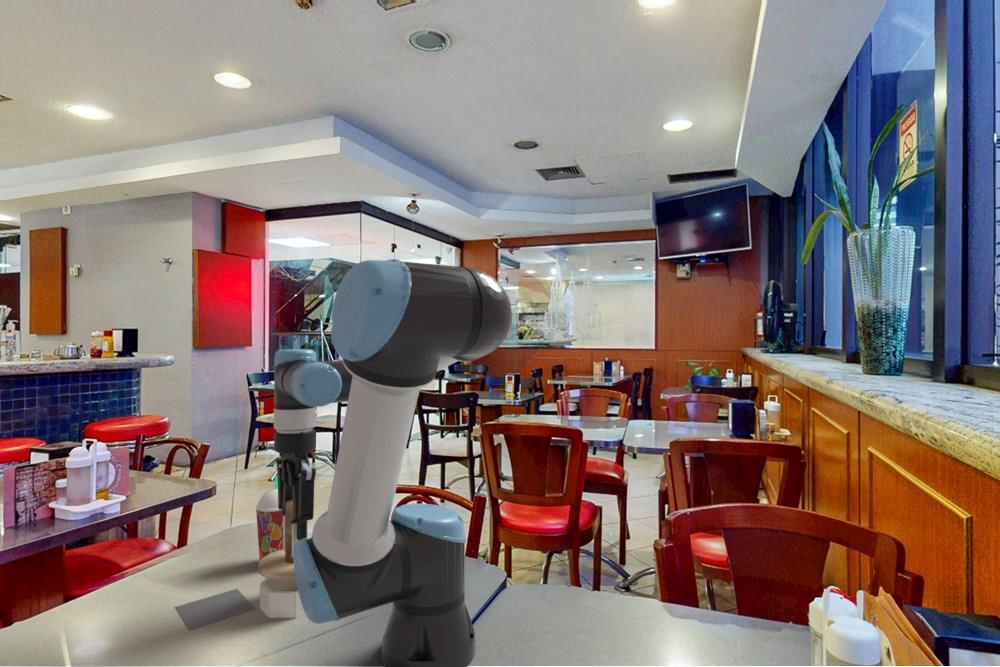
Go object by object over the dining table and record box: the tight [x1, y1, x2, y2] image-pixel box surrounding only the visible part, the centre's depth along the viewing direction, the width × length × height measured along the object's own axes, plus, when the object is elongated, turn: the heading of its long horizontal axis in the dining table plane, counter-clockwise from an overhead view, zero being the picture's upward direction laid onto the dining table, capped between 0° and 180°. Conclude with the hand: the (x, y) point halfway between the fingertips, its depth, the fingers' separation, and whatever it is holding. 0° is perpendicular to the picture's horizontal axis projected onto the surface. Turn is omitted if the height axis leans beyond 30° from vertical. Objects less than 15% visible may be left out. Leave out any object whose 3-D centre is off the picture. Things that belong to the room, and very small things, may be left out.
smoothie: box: [255, 475, 284, 561], centre depth 122 cm, size 8×8×20 cm
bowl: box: [259, 577, 306, 619], centre depth 104 cm, size 12×12×5 cm
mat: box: [174, 588, 256, 631], centre depth 102 cm, size 11×11×1 cm
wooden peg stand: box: [257, 500, 296, 580], centre depth 104 cm, size 13×13×12 cm
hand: (295, 551), depth 104 cm, fingers closed on wooden peg stand, 3 cm apart
